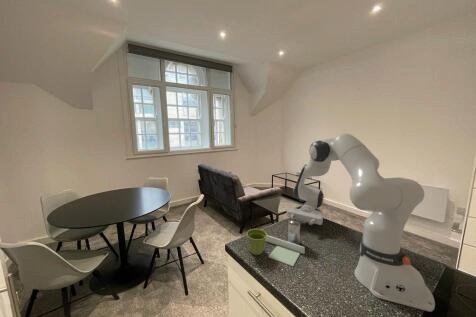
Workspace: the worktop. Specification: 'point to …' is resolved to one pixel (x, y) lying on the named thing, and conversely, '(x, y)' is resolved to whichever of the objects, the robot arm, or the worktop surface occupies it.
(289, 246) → the wall
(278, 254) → the pad
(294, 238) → the canister
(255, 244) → the plant pot
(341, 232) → the worktop surface
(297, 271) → the worktop surface
